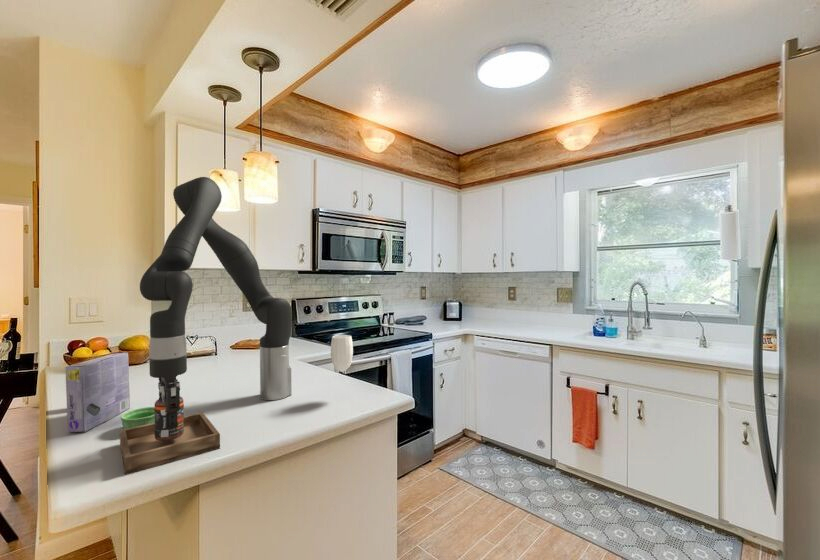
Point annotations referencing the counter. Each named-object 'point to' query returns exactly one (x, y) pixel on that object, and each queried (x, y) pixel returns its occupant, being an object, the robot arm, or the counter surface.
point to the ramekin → (138, 417)
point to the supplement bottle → (160, 421)
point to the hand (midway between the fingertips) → (169, 423)
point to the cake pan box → (97, 391)
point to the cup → (341, 352)
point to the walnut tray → (166, 443)
